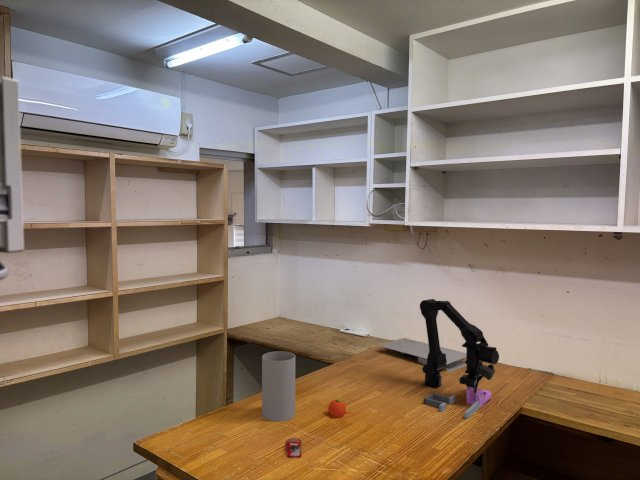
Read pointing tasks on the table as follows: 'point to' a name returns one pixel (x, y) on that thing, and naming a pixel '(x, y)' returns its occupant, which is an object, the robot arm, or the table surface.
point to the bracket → (477, 396)
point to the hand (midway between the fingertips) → (473, 394)
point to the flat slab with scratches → (426, 352)
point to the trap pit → (433, 397)
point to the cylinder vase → (278, 386)
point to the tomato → (337, 408)
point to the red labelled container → (293, 448)
